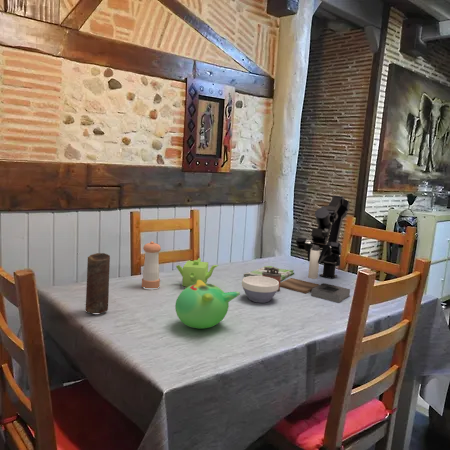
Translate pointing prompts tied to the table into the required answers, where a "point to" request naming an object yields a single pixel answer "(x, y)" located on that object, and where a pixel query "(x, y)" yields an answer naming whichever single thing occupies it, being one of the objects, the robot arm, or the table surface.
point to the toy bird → (203, 305)
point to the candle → (97, 283)
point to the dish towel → (258, 272)
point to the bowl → (260, 288)
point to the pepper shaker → (151, 266)
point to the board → (298, 285)
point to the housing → (330, 292)
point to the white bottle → (314, 262)
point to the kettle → (195, 272)
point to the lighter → (272, 274)
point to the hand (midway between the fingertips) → (313, 262)
